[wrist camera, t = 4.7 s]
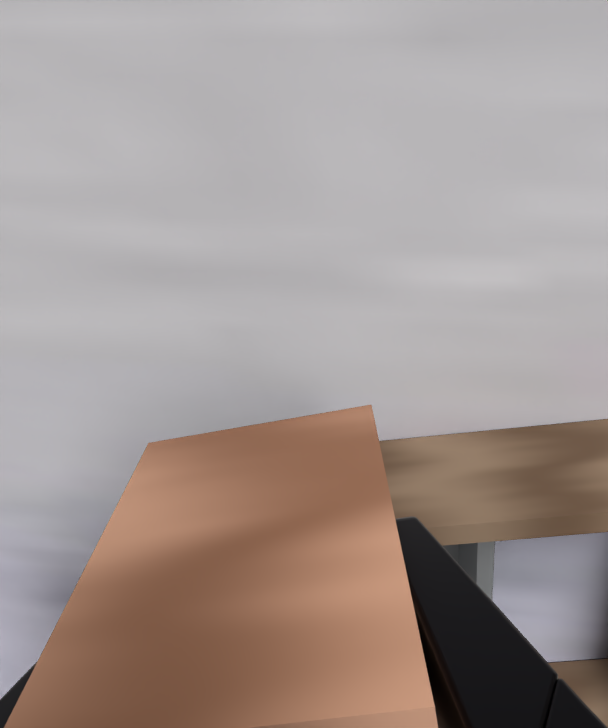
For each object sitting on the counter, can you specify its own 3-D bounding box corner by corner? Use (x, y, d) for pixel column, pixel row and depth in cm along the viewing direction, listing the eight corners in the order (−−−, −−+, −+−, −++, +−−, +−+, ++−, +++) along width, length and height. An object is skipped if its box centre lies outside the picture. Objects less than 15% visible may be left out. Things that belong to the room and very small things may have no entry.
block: (370, 405, 9) (434, 705, 4) (400, 573, 10) (468, 920, 6) (148, 442, 9) (-11, 756, 5) (211, 599, 11) (138, 942, 6)
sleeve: (680, 411, 20) (789, 496, 16) (624, 667, 27) (689, 779, 22) (368, 442, 21) (384, 531, 16) (387, 683, 27) (403, 795, 23)
